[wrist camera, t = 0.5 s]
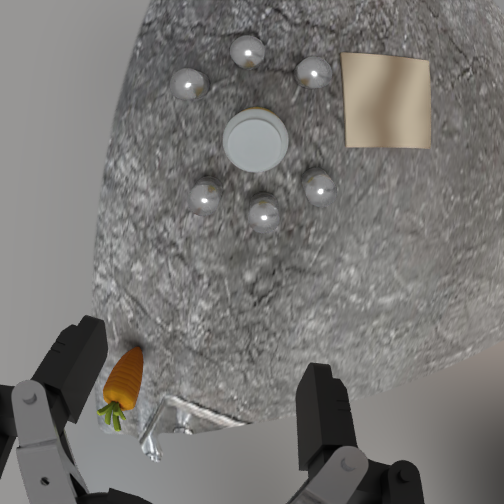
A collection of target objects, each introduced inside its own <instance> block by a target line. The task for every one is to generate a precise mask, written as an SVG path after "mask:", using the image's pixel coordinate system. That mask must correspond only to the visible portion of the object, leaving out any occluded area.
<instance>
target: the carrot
mask: <svg viewBox="0 0 504 504" xmlns="http://www.w3.org/2000/svg"><path fill="white" fill-rule="evenodd" d="M142 373H143V354H142V350H141V349H140V347H135V348H133V349H131V350H130V351H128V352H127V353H126V354H124V355H123V356H122V357H121V359H120V360H119V361H118V362H117V364H116V365H115V367H114V368H113V370H112V372H111V374H110V376H109V377H108V380H107V382H106V384H105V386H104V389H103V396H104V400H105V401H106V402H107V403H108V405H106V406H105V407H103V408H102V409H100V410H97V414H98V415H99V416H101V415H103V414H105V413H106V415H105V423H106V424H108V425H110V421H111V414H112V410H113V424H114V429H115V431H118V432H119V431H120V430H121V426H120V422H119V416H118V415H120V417H121V418H122V419H123V420H126V418H125V416H124V414H123V412H122V411H125V410H130V409H133V408H134V407H135V404H136V401H137V397H138V394H139V390H140V386H141V381H142Z"/></svg>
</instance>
